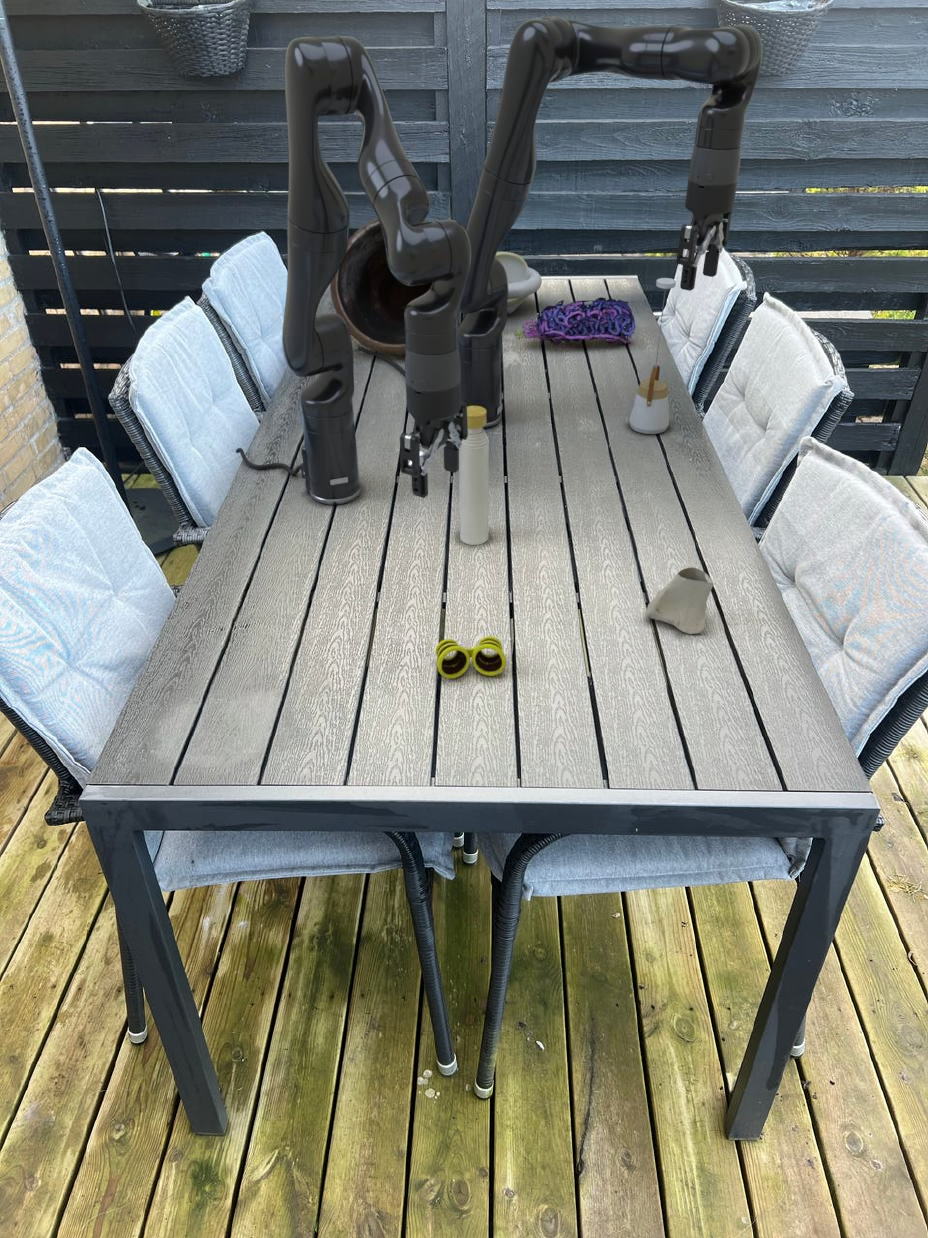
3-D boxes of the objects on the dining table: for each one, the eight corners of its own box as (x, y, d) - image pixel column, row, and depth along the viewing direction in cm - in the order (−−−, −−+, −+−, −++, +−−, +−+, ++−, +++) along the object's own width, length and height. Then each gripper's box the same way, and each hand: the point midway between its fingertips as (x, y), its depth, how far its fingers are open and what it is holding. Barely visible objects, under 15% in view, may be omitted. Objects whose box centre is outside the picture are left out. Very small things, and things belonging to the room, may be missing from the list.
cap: (485, 417, 150) (485, 405, 149) (487, 428, 147) (487, 415, 146) (460, 418, 150) (460, 406, 149) (462, 429, 147) (462, 416, 146)
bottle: (487, 529, 164) (487, 406, 150) (489, 544, 160) (490, 419, 146) (459, 530, 163) (457, 407, 149) (461, 545, 160) (459, 420, 145)
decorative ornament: (642, 323, 223) (518, 325, 220) (633, 359, 231) (514, 362, 228) (631, 290, 230) (511, 291, 228) (623, 326, 239) (508, 328, 236)
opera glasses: (501, 660, 136) (501, 629, 134) (506, 678, 131) (506, 646, 129) (435, 664, 136) (434, 634, 133) (438, 682, 131) (436, 651, 129)
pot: (366, 206, 239) (363, 182, 210) (477, 263, 245) (489, 246, 216) (317, 325, 245) (307, 317, 216) (426, 378, 251) (431, 377, 222)
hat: (455, 295, 261) (454, 240, 252) (532, 292, 263) (534, 237, 254) (465, 327, 242) (464, 268, 233) (548, 323, 244) (550, 264, 235)
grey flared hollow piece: (698, 626, 144) (712, 564, 142) (708, 640, 137) (723, 575, 134) (641, 618, 144) (654, 555, 142) (648, 632, 137) (662, 566, 134)
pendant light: (664, 436, 191) (684, 289, 173) (625, 431, 193) (640, 285, 175) (671, 420, 197) (691, 276, 179) (633, 414, 199) (649, 272, 181)
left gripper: (437, 355, 133) (440, 457, 143) (380, 390, 123) (387, 497, 133) (483, 365, 130) (482, 468, 139) (428, 402, 120) (431, 511, 130)
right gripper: (710, 165, 151) (696, 267, 161) (670, 182, 142) (658, 289, 152) (754, 171, 148) (736, 275, 157) (716, 189, 139) (700, 298, 148)
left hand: (436, 482), depth 136 cm, fingers open, 8 cm apart
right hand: (698, 282), depth 155 cm, fingers open, 8 cm apart
